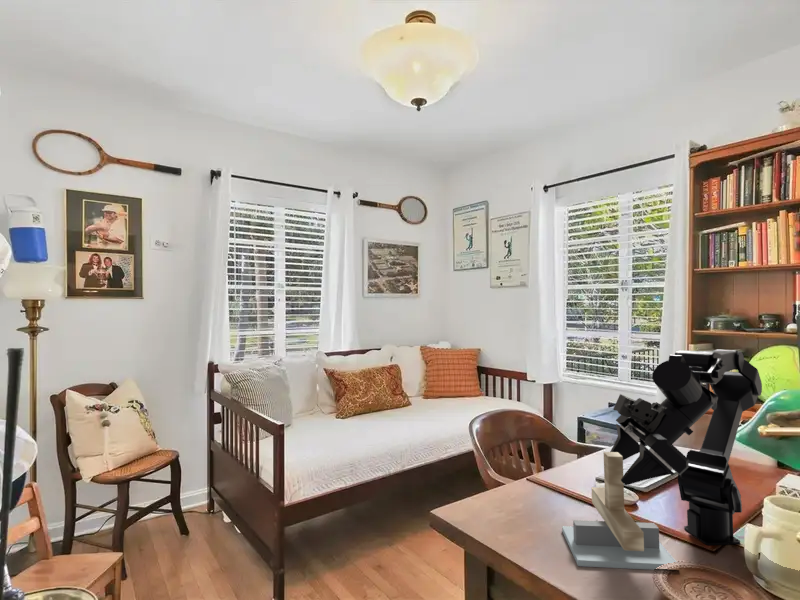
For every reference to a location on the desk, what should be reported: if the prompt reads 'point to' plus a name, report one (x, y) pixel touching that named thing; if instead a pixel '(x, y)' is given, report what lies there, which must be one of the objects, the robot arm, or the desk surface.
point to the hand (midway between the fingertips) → (614, 473)
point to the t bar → (617, 505)
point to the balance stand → (613, 547)
